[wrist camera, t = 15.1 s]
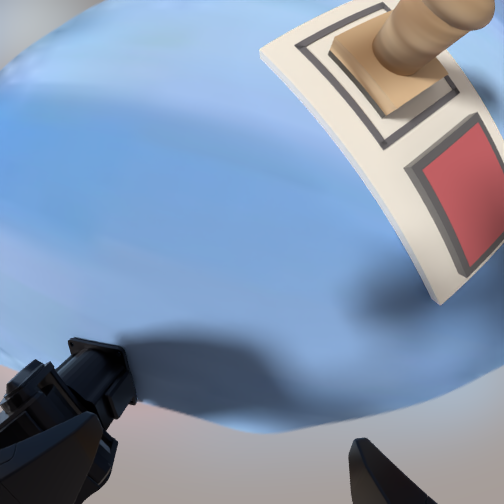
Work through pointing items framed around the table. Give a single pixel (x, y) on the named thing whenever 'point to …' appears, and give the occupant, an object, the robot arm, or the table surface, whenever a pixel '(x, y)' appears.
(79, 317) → the table surface
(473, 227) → the ink pad
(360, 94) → the stamping board
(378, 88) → the stamp
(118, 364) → the robot arm
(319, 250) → the table surface
